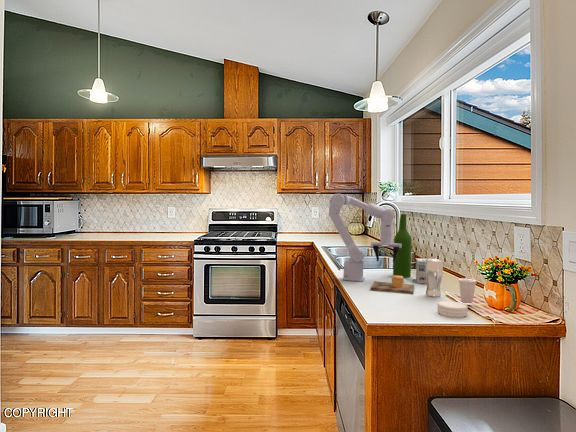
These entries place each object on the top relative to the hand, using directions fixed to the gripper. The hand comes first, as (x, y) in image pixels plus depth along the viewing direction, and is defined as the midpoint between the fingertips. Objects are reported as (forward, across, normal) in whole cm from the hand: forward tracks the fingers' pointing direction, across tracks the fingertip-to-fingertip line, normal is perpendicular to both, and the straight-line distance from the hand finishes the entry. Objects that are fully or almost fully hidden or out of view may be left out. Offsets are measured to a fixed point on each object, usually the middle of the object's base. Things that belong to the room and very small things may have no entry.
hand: (385, 261), depth 197 cm
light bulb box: (+10, +18, +6) cm, 21 cm away
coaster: (+10, +28, -49) cm, 57 cm away
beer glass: (+10, +22, -23) cm, 33 cm away
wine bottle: (+10, +7, +15) cm, 19 cm away
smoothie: (+10, +34, -34) cm, 49 cm away
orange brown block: (+8, +7, -17) cm, 20 cm away
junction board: (+9, +5, -17) cm, 20 cm away
